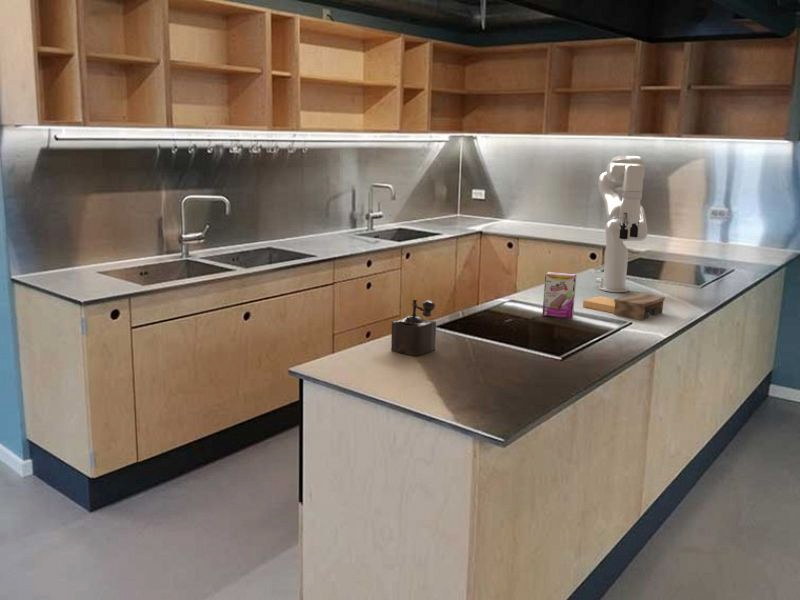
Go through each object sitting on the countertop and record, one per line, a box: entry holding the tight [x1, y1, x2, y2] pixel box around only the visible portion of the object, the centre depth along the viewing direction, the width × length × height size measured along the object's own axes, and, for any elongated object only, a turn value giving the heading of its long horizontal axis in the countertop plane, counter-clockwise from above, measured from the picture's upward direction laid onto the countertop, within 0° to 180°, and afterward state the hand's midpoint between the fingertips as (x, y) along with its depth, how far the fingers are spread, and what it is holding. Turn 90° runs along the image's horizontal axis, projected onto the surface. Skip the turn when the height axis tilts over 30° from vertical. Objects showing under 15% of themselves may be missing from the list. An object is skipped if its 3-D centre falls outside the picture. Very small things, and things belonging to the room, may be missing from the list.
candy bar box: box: [542, 271, 577, 320], centre depth 271 cm, size 11×5×16 cm, turn 71°
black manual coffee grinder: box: [390, 298, 437, 357], centre depth 224 cm, size 16×11×18 cm
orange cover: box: [582, 295, 615, 314], centre depth 287 cm, size 14×12×3 cm
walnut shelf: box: [613, 292, 666, 321], centre depth 277 cm, size 12×18×6 cm, turn 135°
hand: (628, 237), depth 293 cm, fingers open, 9 cm apart
